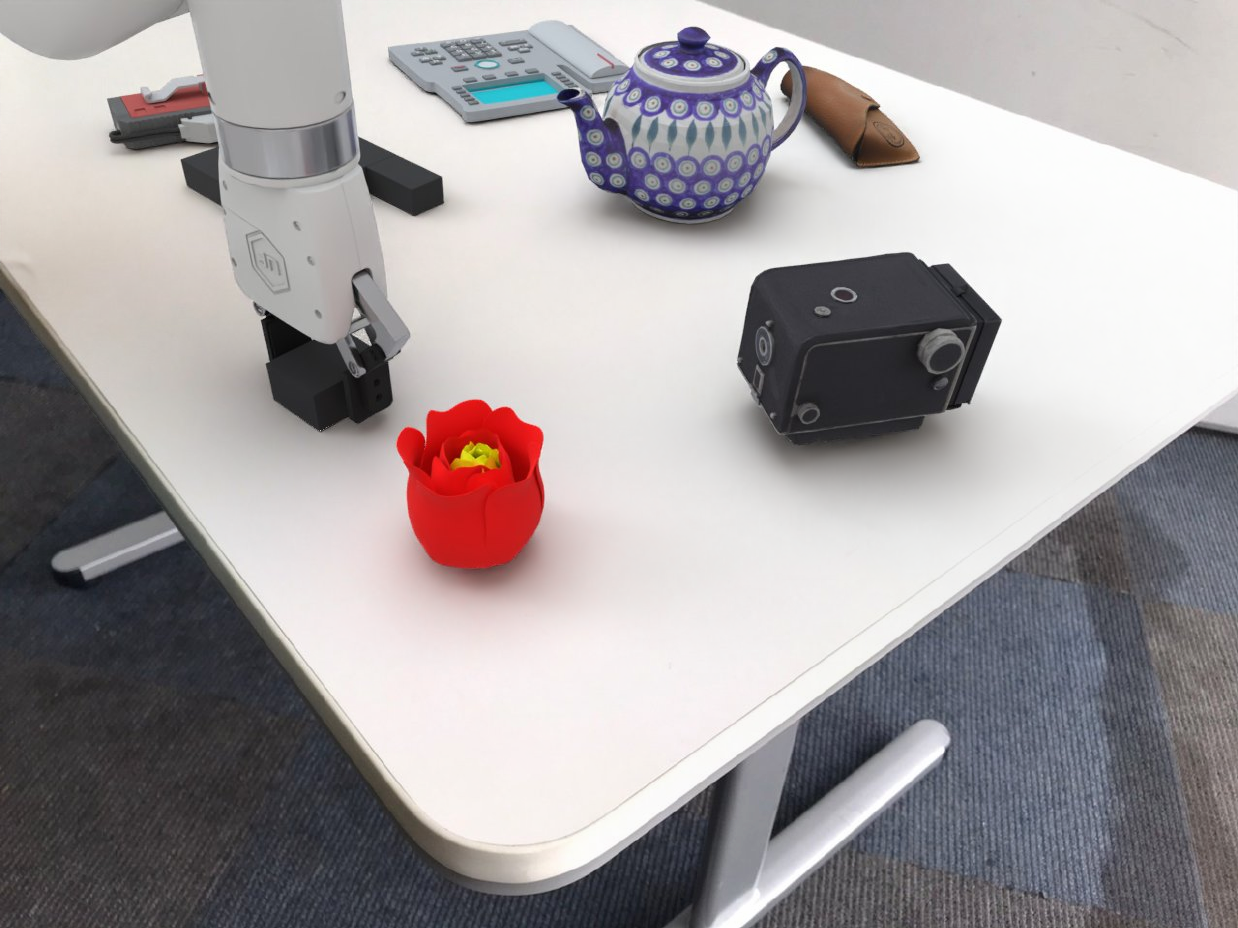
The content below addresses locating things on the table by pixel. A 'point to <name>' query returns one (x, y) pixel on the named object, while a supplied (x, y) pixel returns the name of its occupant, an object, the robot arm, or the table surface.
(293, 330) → the robot arm
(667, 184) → the teapot
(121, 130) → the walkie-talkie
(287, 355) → the small pad
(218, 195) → the big pad
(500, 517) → the flower
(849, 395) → the camera
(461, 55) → the office telephone
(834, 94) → the sunglasses case
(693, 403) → the table surface
